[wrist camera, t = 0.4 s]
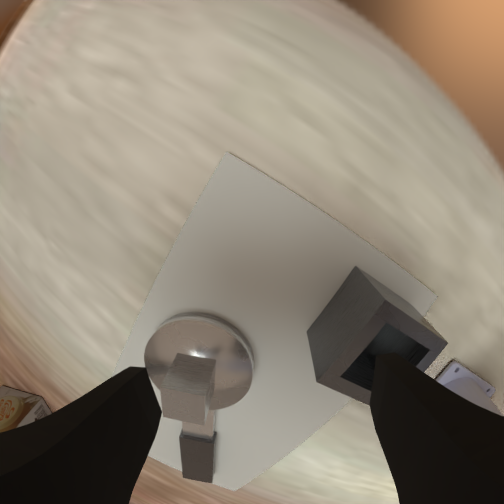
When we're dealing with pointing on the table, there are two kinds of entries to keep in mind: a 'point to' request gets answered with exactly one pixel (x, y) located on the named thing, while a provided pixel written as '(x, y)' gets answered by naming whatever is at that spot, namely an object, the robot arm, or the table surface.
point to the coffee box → (20, 408)
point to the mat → (260, 310)
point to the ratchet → (198, 380)
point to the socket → (367, 335)
